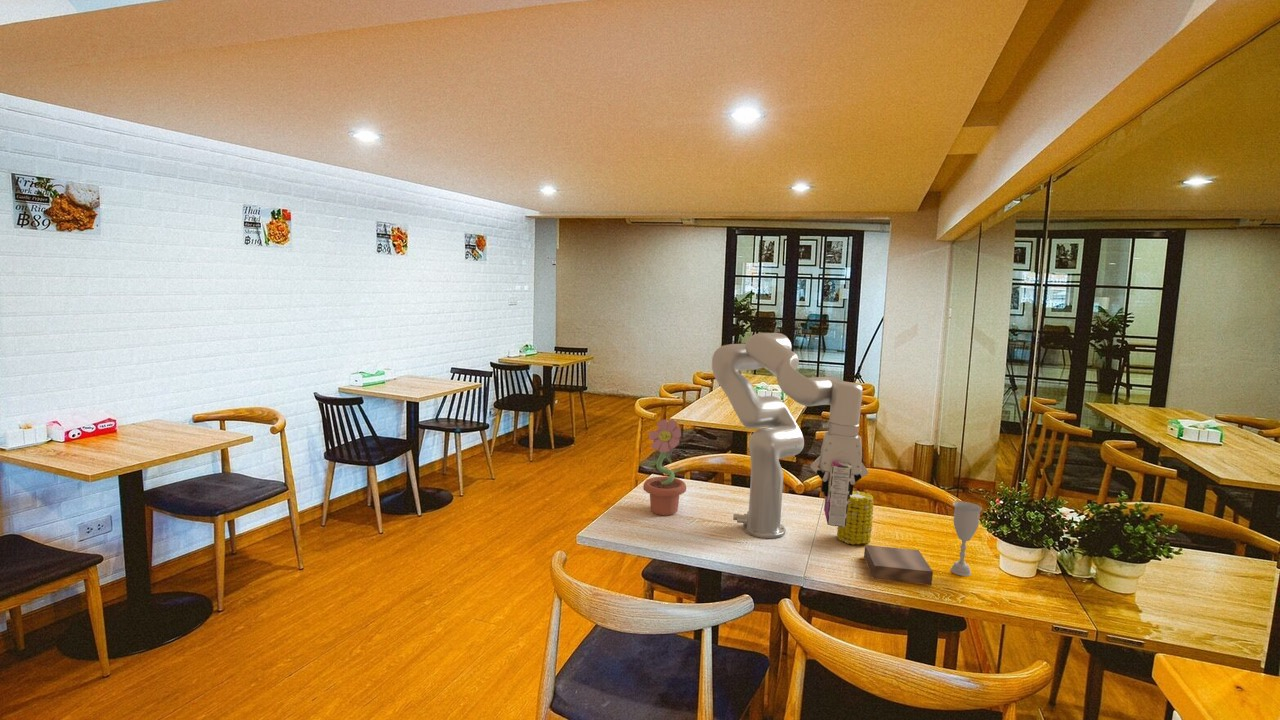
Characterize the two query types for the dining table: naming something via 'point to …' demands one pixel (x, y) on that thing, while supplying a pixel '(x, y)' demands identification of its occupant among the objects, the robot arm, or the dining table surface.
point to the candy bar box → (838, 494)
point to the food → (858, 519)
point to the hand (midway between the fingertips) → (836, 495)
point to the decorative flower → (664, 471)
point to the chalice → (965, 531)
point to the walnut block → (897, 564)
